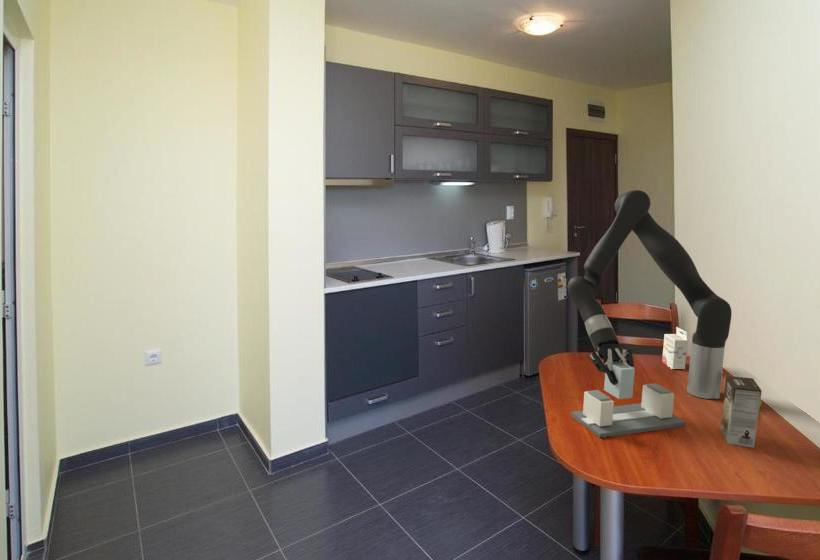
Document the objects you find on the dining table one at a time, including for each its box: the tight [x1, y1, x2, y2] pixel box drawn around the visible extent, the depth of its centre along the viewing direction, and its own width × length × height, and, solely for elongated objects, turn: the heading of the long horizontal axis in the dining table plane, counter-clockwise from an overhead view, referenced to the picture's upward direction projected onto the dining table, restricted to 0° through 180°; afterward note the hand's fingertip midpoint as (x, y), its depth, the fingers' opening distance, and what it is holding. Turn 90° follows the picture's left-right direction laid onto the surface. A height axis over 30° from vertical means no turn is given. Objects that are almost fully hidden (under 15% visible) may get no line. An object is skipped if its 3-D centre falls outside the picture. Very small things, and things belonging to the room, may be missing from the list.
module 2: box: [640, 382, 675, 419], centre depth 143 cm, size 4×8×8 cm, turn 14°
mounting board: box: [570, 402, 687, 439], centre depth 141 cm, size 28×14×2 cm, turn 104°
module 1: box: [582, 389, 615, 426], centre depth 138 cm, size 4×8×8 cm, turn 14°
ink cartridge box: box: [661, 326, 688, 370], centre depth 185 cm, size 9×5×15 cm, turn 179°
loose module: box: [603, 360, 636, 400], centre depth 144 cm, size 4×7×9 cm, turn 14°
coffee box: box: [720, 375, 763, 449], centre depth 130 cm, size 9×6×16 cm
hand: (623, 382), depth 142 cm, fingers closed on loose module, 4 cm apart
